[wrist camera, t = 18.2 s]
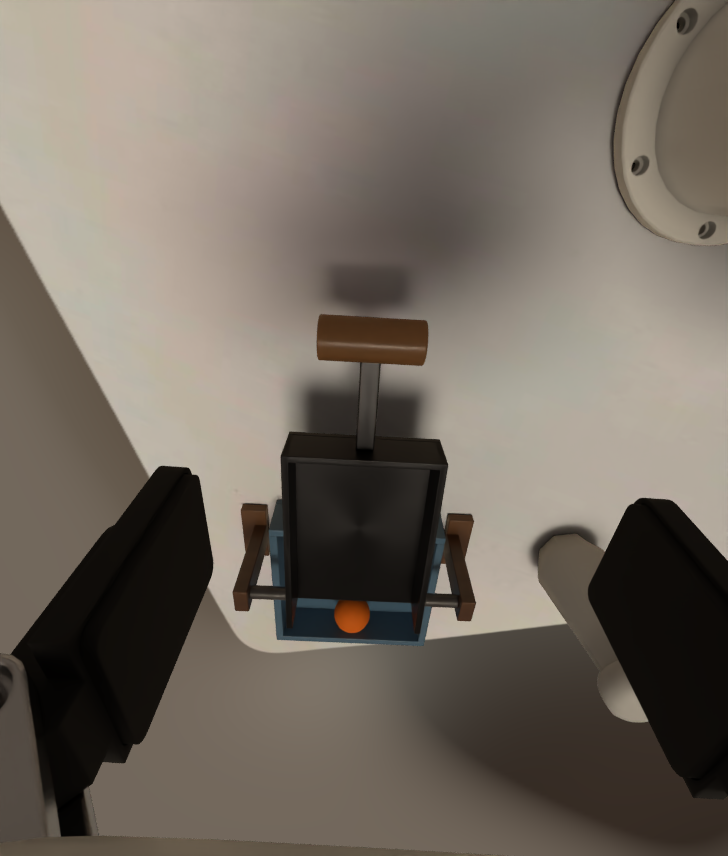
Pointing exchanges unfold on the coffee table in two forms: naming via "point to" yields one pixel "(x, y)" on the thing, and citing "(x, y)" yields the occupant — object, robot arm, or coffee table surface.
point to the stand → (247, 589)
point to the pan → (362, 485)
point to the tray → (317, 615)
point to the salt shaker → (586, 616)
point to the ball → (351, 615)
